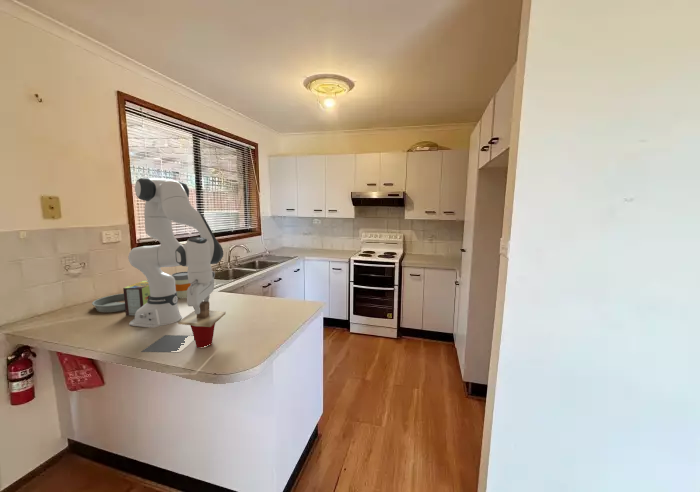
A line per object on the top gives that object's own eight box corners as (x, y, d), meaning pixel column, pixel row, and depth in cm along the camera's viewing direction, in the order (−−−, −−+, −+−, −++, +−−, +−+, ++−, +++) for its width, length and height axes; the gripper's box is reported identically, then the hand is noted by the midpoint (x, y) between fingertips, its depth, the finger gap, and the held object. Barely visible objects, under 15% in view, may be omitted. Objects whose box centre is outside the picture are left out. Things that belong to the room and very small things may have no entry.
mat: (140, 352, 116) (140, 351, 116) (164, 336, 130) (164, 335, 130) (180, 353, 116) (180, 352, 116) (199, 336, 130) (199, 335, 130)
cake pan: (153, 304, 173) (153, 296, 172) (102, 317, 152) (101, 308, 151) (135, 296, 186) (135, 290, 185) (86, 307, 165) (85, 300, 164)
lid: (178, 324, 114) (177, 307, 113) (196, 311, 127) (196, 296, 126) (210, 327, 114) (210, 310, 113) (225, 314, 127) (225, 298, 126)
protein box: (163, 306, 169) (161, 280, 166) (144, 316, 153) (141, 288, 151) (146, 305, 169) (143, 280, 167) (125, 315, 154) (122, 287, 151)
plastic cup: (202, 354, 115) (201, 325, 113) (184, 348, 119) (182, 321, 117) (224, 342, 125) (222, 316, 123) (206, 338, 129) (204, 312, 127)
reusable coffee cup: (179, 300, 179) (177, 277, 177) (169, 296, 186) (167, 274, 183) (199, 295, 189) (197, 273, 187) (189, 292, 196) (187, 270, 194)
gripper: (199, 283, 108) (201, 318, 110) (216, 271, 128) (217, 300, 130) (181, 284, 107) (183, 319, 109) (201, 271, 127) (202, 301, 129)
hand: (202, 309), depth 120 cm, fingers open, 8 cm apart
